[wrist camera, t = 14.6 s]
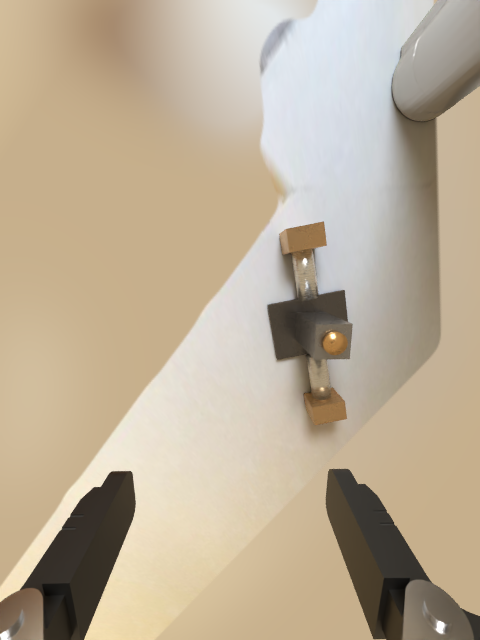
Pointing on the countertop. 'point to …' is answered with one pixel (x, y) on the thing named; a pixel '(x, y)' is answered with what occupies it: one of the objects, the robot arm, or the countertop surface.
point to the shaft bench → (300, 244)
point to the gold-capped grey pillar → (323, 335)
